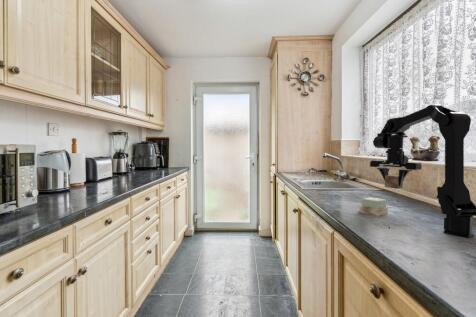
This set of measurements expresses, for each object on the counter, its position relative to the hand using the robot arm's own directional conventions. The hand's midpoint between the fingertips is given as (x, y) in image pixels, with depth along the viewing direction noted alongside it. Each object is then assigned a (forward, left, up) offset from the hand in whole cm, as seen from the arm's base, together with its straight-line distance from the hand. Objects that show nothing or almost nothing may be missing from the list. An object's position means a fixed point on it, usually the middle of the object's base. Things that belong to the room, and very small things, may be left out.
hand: (393, 184), depth 116 cm
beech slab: (+4, +8, -12) cm, 15 cm away
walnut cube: (0, 0, -1) cm, 1 cm away
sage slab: (+4, +7, -9) cm, 13 cm away
